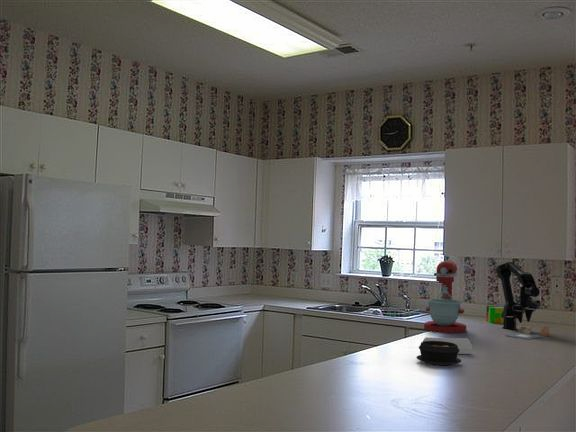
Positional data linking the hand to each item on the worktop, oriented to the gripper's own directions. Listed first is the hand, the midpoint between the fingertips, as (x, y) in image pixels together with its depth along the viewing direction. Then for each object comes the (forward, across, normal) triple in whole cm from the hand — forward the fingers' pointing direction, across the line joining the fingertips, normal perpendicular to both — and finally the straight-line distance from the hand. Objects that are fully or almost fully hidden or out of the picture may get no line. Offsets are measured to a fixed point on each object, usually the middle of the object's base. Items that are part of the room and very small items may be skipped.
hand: (524, 322), depth 357 cm
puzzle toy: (+7, +29, +34) cm, 45 cm away
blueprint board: (+6, -13, -6) cm, 16 cm away
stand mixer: (+6, -31, +33) cm, 46 cm away
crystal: (+6, -95, -10) cm, 96 cm away
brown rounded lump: (+6, +2, -11) cm, 13 cm away
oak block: (+6, 0, 0) cm, 6 cm away
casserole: (+6, -119, -22) cm, 121 cm away
